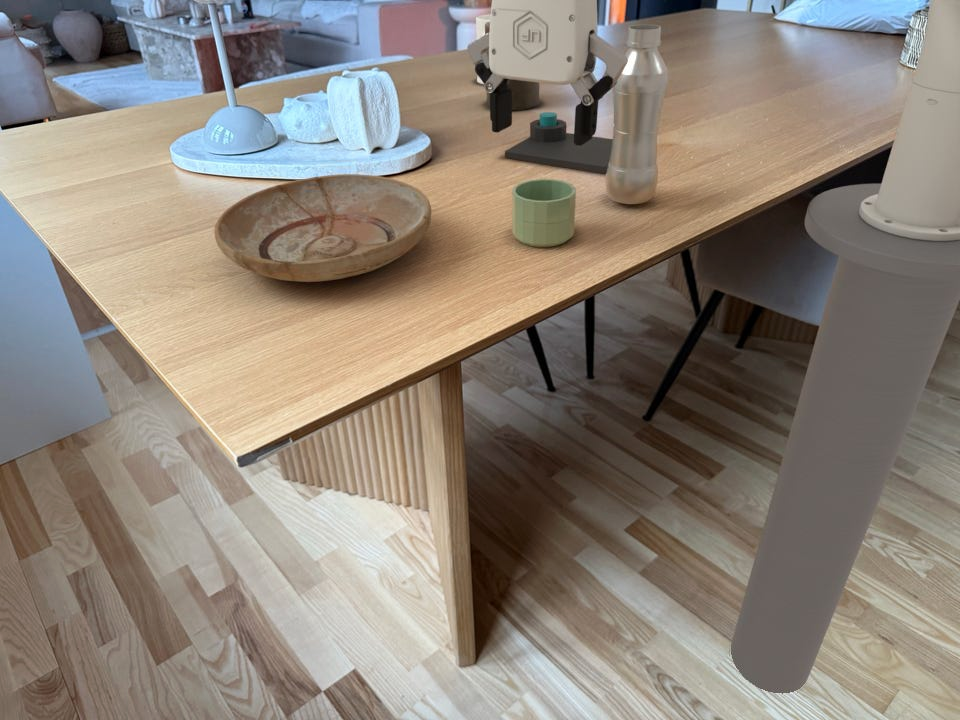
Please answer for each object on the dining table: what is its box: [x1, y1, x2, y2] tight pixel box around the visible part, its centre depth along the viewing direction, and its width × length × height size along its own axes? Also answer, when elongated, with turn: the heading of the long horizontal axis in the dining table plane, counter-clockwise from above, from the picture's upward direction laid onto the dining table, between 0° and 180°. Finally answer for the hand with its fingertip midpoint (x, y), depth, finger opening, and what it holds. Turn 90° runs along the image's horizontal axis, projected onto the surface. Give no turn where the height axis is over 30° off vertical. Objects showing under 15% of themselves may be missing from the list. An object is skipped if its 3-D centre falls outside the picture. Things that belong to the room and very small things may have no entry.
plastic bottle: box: [604, 23, 669, 205], centre depth 83 cm, size 6×7×20 cm
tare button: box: [539, 111, 558, 127], centre depth 107 cm, size 3×3×2 cm
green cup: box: [511, 178, 577, 248], centre depth 79 cm, size 7×7×6 cm
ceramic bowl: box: [213, 173, 432, 283], centre depth 77 cm, size 23×24×5 cm
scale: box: [504, 118, 613, 175], centre depth 103 cm, size 16×12×3 cm
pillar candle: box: [485, 22, 541, 111], centre depth 124 cm, size 10×10×15 cm
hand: (541, 135), depth 74 cm, fingers open, 9 cm apart
